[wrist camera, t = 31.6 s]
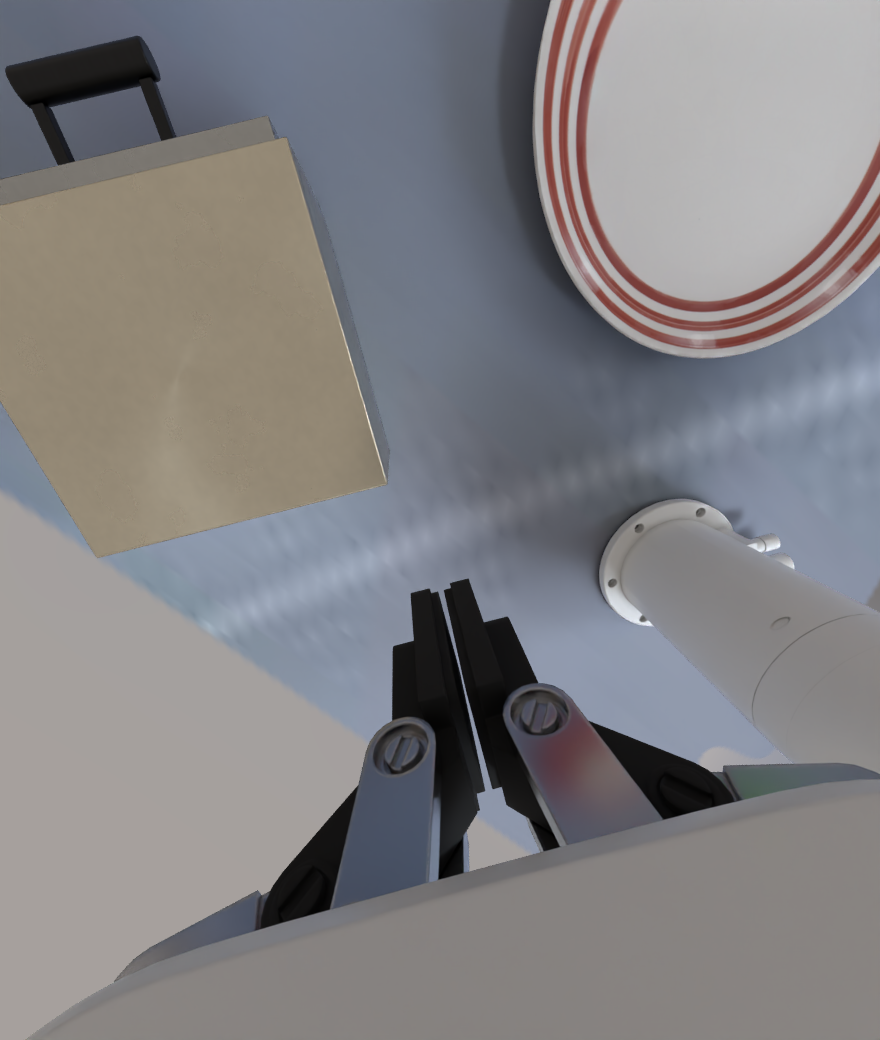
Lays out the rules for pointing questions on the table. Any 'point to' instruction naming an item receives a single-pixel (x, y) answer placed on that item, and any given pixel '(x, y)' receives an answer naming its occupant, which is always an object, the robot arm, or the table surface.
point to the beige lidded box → (184, 349)
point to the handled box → (99, 76)
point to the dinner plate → (711, 163)
